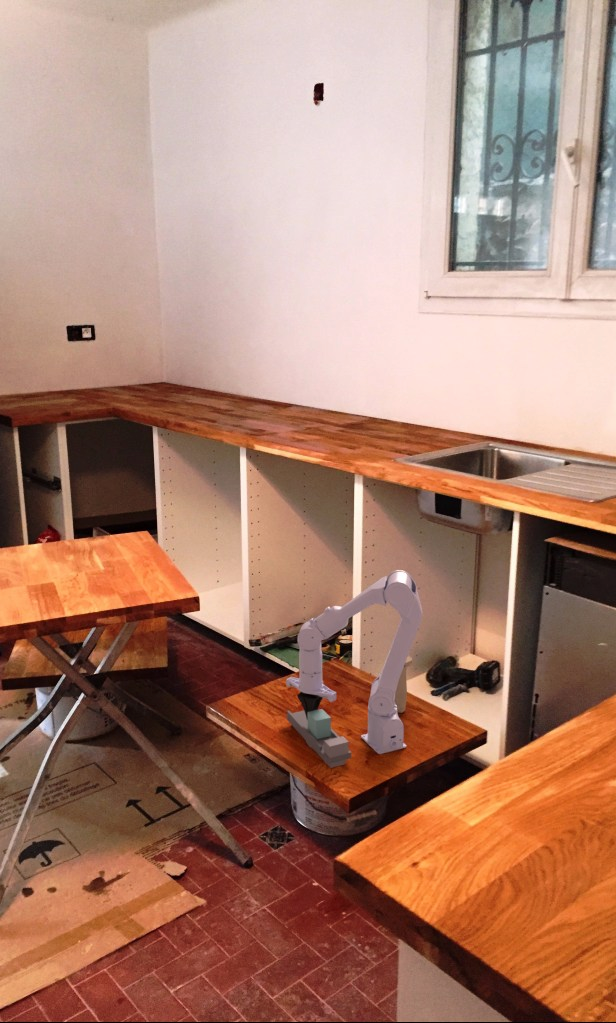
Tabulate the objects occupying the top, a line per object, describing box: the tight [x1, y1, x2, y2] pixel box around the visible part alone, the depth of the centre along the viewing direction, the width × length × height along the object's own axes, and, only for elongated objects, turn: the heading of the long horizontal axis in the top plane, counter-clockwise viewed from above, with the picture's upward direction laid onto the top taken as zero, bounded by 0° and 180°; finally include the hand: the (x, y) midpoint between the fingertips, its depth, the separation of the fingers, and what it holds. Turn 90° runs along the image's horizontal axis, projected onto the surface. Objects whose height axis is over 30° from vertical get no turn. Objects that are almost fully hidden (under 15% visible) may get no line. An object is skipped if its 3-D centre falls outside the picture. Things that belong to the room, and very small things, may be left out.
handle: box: [394, 655, 413, 714], centre depth 227 cm, size 5×6×15 cm
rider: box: [308, 708, 332, 739], centre depth 211 cm, size 5×4×5 cm
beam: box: [286, 710, 352, 769], centre depth 212 cm, size 24×6×6 cm, turn 25°
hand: (311, 718), depth 215 cm, fingers closed
